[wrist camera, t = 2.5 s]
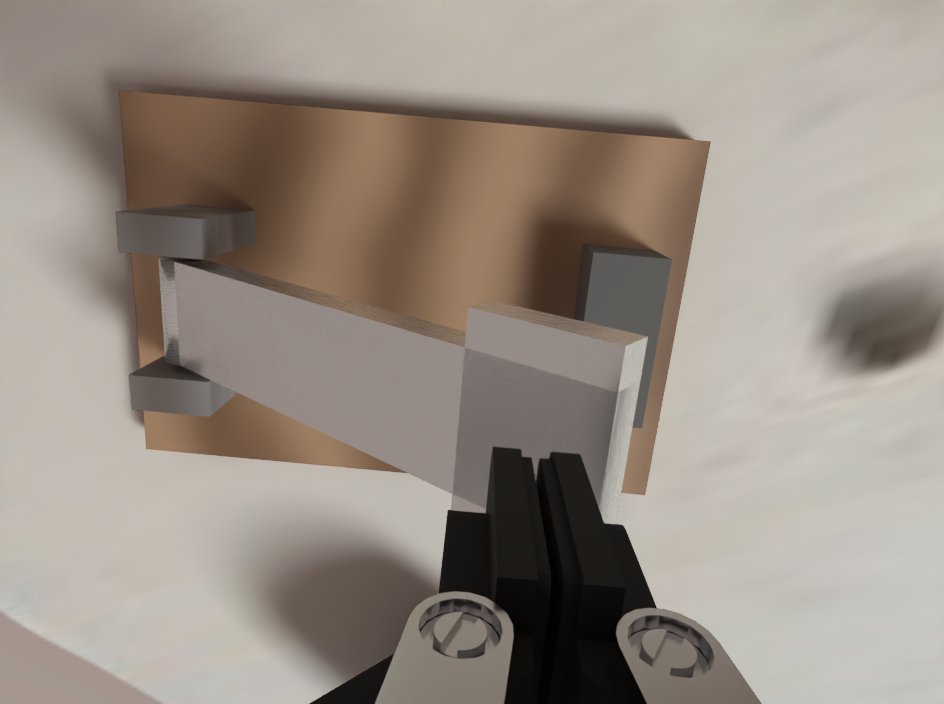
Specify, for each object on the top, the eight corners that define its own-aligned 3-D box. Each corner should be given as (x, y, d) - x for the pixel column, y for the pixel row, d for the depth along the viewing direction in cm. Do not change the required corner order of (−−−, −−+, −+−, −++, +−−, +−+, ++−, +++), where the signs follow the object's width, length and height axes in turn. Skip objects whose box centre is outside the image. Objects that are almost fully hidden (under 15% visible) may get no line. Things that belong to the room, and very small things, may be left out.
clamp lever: (651, 334, 13) (622, 347, 12) (610, 568, 15) (581, 600, 14) (189, 228, 24) (148, 229, 23) (196, 373, 26) (158, 382, 24)
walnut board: (698, 143, 26) (763, 134, 20) (637, 479, 31) (674, 558, 24) (139, 94, 26) (28, 70, 20) (162, 435, 31) (78, 503, 25)
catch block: (654, 250, 26) (672, 259, 23) (628, 404, 28) (642, 428, 25) (583, 244, 26) (593, 252, 23) (562, 398, 28) (569, 421, 25)
